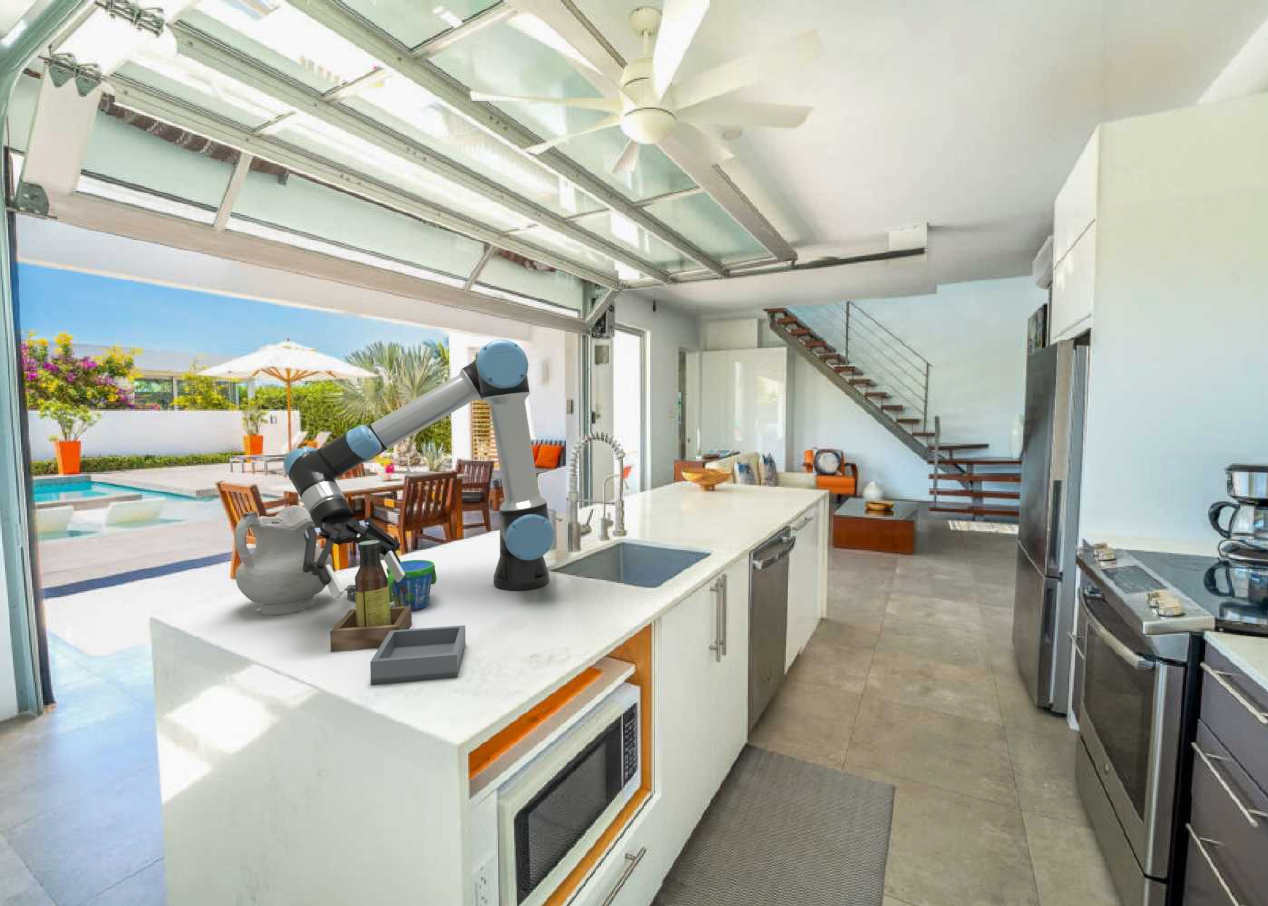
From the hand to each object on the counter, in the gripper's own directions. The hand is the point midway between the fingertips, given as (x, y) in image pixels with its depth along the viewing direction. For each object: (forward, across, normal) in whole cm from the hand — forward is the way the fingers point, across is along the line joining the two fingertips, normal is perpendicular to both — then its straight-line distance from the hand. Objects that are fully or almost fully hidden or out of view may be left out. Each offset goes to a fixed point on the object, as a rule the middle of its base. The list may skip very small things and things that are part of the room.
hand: (371, 586), depth 110 cm
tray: (+21, +2, +6) cm, 22 cm away
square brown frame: (+7, 0, -8) cm, 11 cm away
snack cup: (+1, -16, -14) cm, 22 cm away
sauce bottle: (+8, 0, -8) cm, 11 cm away
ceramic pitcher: (-16, 0, -32) cm, 36 cm away
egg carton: (-10, -16, -26) cm, 33 cm away
